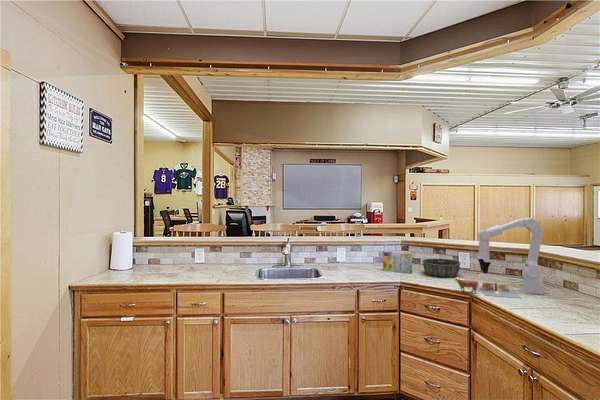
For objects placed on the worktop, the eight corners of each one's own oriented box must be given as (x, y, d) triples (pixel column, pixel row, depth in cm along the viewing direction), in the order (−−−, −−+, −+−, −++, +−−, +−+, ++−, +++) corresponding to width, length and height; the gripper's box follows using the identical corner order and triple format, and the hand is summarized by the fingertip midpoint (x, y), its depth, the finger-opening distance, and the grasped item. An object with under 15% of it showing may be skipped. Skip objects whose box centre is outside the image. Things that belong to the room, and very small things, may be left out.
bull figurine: (455, 289, 222) (455, 276, 222) (479, 293, 213) (478, 279, 213) (452, 290, 218) (452, 277, 218) (477, 294, 210) (477, 280, 210)
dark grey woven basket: (461, 280, 247) (461, 265, 247) (421, 277, 257) (421, 263, 257) (460, 272, 272) (460, 259, 272) (423, 270, 282) (423, 257, 282)
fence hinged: (493, 290, 217) (493, 283, 217) (493, 290, 216) (493, 283, 216) (482, 289, 219) (482, 282, 219) (482, 289, 218) (482, 283, 218)
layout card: (514, 291, 217) (514, 290, 217) (521, 298, 201) (521, 297, 201) (480, 289, 222) (480, 288, 222) (485, 295, 207) (485, 295, 207)
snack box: (412, 272, 274) (412, 252, 274) (410, 273, 269) (410, 253, 269) (385, 269, 285) (385, 250, 285) (382, 270, 280) (382, 251, 280)
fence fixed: (508, 291, 214) (508, 283, 214) (509, 292, 213) (509, 284, 213) (494, 290, 217) (494, 282, 217) (495, 291, 216) (494, 283, 216)
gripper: (475, 248, 230) (475, 269, 230) (478, 251, 216) (478, 274, 216) (487, 248, 228) (487, 270, 228) (491, 251, 214) (491, 274, 214)
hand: (484, 272), depth 222 cm, fingers open, 7 cm apart
